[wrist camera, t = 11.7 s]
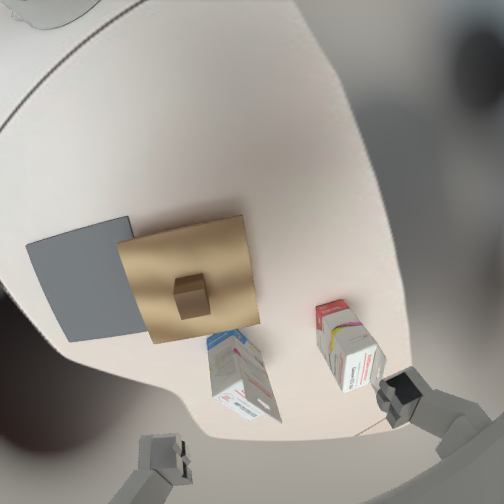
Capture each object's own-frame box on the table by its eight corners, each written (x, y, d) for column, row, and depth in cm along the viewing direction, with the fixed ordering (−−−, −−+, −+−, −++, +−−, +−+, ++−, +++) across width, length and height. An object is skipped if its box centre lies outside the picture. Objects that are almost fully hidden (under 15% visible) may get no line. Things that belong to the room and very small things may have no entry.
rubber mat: (26, 244, 32) (25, 246, 31) (127, 215, 34) (126, 216, 33) (70, 340, 39) (69, 342, 38) (163, 326, 40) (163, 328, 40)
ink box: (204, 339, 43) (212, 416, 29) (230, 322, 42) (247, 398, 29) (237, 367, 46) (253, 439, 33) (262, 352, 46) (285, 424, 32)
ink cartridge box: (313, 306, 44) (355, 370, 30) (342, 298, 44) (390, 356, 31) (315, 346, 47) (350, 409, 34) (341, 338, 48) (381, 396, 34)
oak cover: (117, 241, 30) (107, 257, 26) (241, 214, 31) (248, 226, 27) (154, 340, 35) (151, 363, 31) (259, 319, 37) (266, 341, 33)
